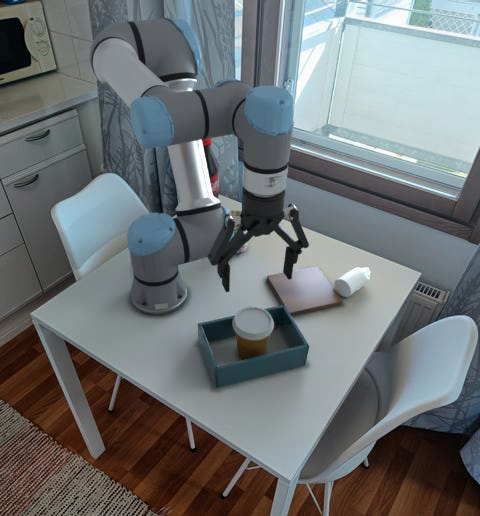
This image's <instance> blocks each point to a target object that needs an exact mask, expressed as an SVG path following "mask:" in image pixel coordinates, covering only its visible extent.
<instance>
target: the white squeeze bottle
mask: <svg viewBox="0 0 480 516" xmlns="http://www.w3.org/2000/svg"><path fill="white" fill-rule="evenodd" d="M371 274H372V272H371V270H370V268H369V267H362V268H361V267H359V266H358V267H354V268H352V269H351V270H349V271H347V272H346V273H344V274H342V275H341V276H340V277H338V278H337V279H335V280H334V283H333V285H334V286H333V287H334V289H335V291H336V292H337V294H338V295H339V296H340V297H344V298H348V297H350V296H352V295H353V294H354V293H356V292H357V291H358V290H360V289H362V288H363V287H364V286H366V285H367V284H368V283H369V282H371Z"/></svg>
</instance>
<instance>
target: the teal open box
mask: <svg viewBox="0 0 480 516" xmlns="http://www.w3.org/2000/svg"><path fill="white" fill-rule="evenodd" d="M264 309H265V310H266V311H268V312H269V314H270V315H271V317H272V319H273V321H274V329H275V328H281V330H282V332H283V334H284V335H285V338H286V339H287V341H288V343H289V344H290V346H291V347H290V348H286V349H281V350H277V351H274V352H269V353H264V355H261V356H257V357H253V358H249V359H245V360H241V359H240V360H237V361H234V362H229V363H225V364H221V365H218V364H217V361H216V358H215V356H214V354H213V351H212V348H211V346H210V343H215V342H219V341H223V340H227V339H231V338H236V335H235V330H234V329H233V325H232V322H233V319H234V317H235V315H236V314H235V315H231V316H226V317H221V318H218V319H212V320H208V321H203V322H198V323H197V340H198V347H199V349H200V351H201V354H202V357H203V359H204V362H205V365H206V368H207V370H208V373H209V375H210V378H211V381H212V383H213V387H214V389H220V388H223V387H227V386H232V385H236V384H238V383H242V382H247V381H250V380H254V379H259V378H262V377H265V376H266V377H267V376H269V375H273V374H274V375H275V374H277V373H282V372H286V371H289V370H293V369H296V368H300V367H304V366H306V364H307V361H308V360H307V359H308V354H309V351H310V345H309V343H308V341H307V340H306V338H305V336H304V334H303V333H302V331H301V329H300V328H299V326H298V325H297V323H296V321H295V319H294V318H293V316H291V314H290V313H289V311H288V309H287V308H286V306H285V305H281V304H280V305H276V306H271V307H268V308H264Z"/></svg>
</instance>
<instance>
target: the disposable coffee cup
mask: <svg viewBox="0 0 480 516" xmlns="http://www.w3.org/2000/svg"><path fill="white" fill-rule="evenodd" d="M265 309H266V308H262V307H258V306H246V307H243V308H241V309H240V310H238V311H237V312H236V314H235V317H234V319H233V322H232V325H233V329H234V330H235V335H236V337H235V341H236V348H237V354H238V355H237V356H238V358H239V359H240V361H241V360H245V359H249V358H253V357H257V356H261V355H265V354H266V353H265V352H266V350H267V346H268V343H269V340H270V335H271V334H272V333H273V331H274V329H275V328H274V321H273V319H272V317H271V315H270V314H269V312H268V311H266V310H265Z"/></svg>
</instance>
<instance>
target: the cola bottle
mask: <svg viewBox="0 0 480 516" xmlns="http://www.w3.org/2000/svg"><path fill="white" fill-rule="evenodd" d="M202 143H203V148H204V153H205V158H206V163H207V168H208V173H209V178H210V183H211V188H212V193H213V195H214V197H216V198H217V199H219V196H220V195H219V194H220V189H219V187H220V186H219V171H220V164H219V162H218V159H217V157H216V155H215V154H214V152H213V150H212V147H211V145H212V138H209V139H202Z"/></svg>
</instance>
